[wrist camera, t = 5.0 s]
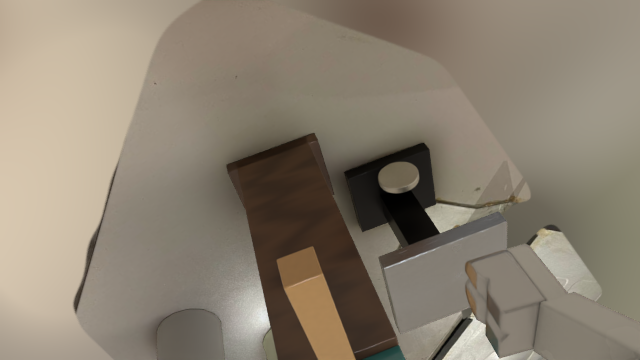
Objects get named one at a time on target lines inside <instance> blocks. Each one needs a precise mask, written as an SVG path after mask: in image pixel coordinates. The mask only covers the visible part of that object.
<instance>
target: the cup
mask: <svg viewBox="0 0 640 360" xmlns="http://www.w3.org/2000/svg"><path fill="white" fill-rule="evenodd" d="M157 360H225V353H224V345H223V336H222V328H221V321H220V320H219V319H218V317H217V316H216V315H215V314H213V313H211V312H208V311H206V310H201V309H188V310H184V311H180V312H176V313H174V314H172V315H170V316H169V317H167V318H166V319H164V320H163V321H162V323H161V324H160V326H159V327H158V329H157Z"/></svg>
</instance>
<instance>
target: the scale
mask: <svg viewBox="0 0 640 360" xmlns="http://www.w3.org/2000/svg"><path fill="white" fill-rule="evenodd" d="M345 176H346V180H347V183H348V187H349V191H350V194H351V198H352V201H353V205H354V209H355V212H356V216H357V219H358V223H359V226H360V228H361V230H362V232H364V231H367V230H369V229H372V228H375V227H377V226H380V225H383V224H385V223H389V225H390V227H391V228H392V230H393V232H394V234H395V235H396V237H397V239H398V241H399V243H400V244H401V246H402V248H401V249H398V250H395V251H393V252H390V253H388V254H385V255H382V256H380V257H379V262H380V266H381V269H382V273H383V277H384V281H385V285H386V289H387V293H388V297H389V301H390V305H391V308H392V312H393V316H394V320H395V324H396V326H397V328H398V330H399V332H400V334H403V333H406V332H408V331H411V330H413V329H416V328H419V327H421V326H424V325H426V324H429V323H431V322H434V321H437V320H439V319H442V318H444V317H447V316H449V315H452V314H455V313H457V312H460V311H462V310H465V309H467V308H470V305H469V303H468V300H467V296H466V292H465V283H466V281H467V280H468V279H469V277H468V276H467V274H466V272H465V264H466V262H467V261H469V260H472V259H475V258H479V257H482V256H485V255H488V254H491V253H494V252H497V251H501V250H506V249H507V221H506V220H505V218H504V217H503V216H502V215H501V214H500V213H499V212H496V213H493V214H490V215H488V216H485V217H482V218H480V219H477V220H474V221H472V222H469V223H467V224H464V225H461V226H459V227H456V228H453V229H451V230H448V231H445V232H443V233H440V232H439V231H438V229H437V228H436V226H435V225H434V223H433V222H432V220H431V219H430V217H429V216H428V215H427V213H426V212H425V210H424V209H425V208H428V207H430V206H433V205H436V200H435V192H434V184H433V176H432V168H431V160H430V152H429V148H428V147H427V146H426V145H425V143H422V144H419V145H416V146H413V147H411V148H408V149H405V150H403V151H400V152H397V153H394V154H392V155H389V156H386V157H384V158H381V159H378V160H376V161H373V162H370V163H367V164H365V165H362V166H359V167H357V168H354V169H351V170H348V171H346V172H345Z"/></svg>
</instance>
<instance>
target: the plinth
mask: <svg viewBox="0 0 640 360" xmlns="http://www.w3.org/2000/svg"><path fill="white" fill-rule="evenodd" d="M227 171H228V174H229V176H230V178H231V180H232V183H233V185H234V187H235V189H236V191H237V193H238V195H239V197H240V199H241V201H242V203H243V205H244V208H245V210H246V214H247V219H248V223H249V228H250V233H251V237H252V242H253V247H254V251H255V256H256V261H257V265H258V270H259V275H260V279H261V284H262V289H263V293H264V298H265V303H266V307H267V312H268V317H269V321H270V326H271V331H272V335H273V340H274V345H275V349H276V354H277V359H278V360H318V359H317V357H316V355H315V353H314V351H313V349H312V346H311V344H310V342H309V340H308V338H307V336H306V334H305V332H304V330H303V328H302V326H301V324H300V321H299V319H298V317H297V315H296V313H295V311H294V309H293V307H292V305H291V303H290V301H289V299H288V296H287V294H286V292H285V290H284V288H283V284H282V280H281V276H280V272H279V269H278V265H277V259H279V258H282V257H284V256H287V255H290V254H292V253H295V252H298V251H300V250H303V249H306V248H308V247H311V246H313V247H314V249H315V252H316V255H317V257H318V260H319V263H320V265H321V268H322V270H323V273H324V276H325V278H326V281H327V284H328V286H329V289H330V291H331V294H332V297H333V299H334V302H335V305H336V307H337V310H338V312H339V315H340V318H341V320H342V323H343V326H344V328H345V331H346V333H347V336H348V339H349V341H350V344H351V347H352V349H353V352H354V354H355V357H356V360H361V359H364V358H367V357H369V356H372V355H374V354H377V353H379V352H382V351H385V350H387V349H390V348H392V347H395V346H397V345H399V344H398V340H397V337H396V334H395V332H394V330H393V328H392V325H391V323H390V321H389V319H388V317H387V314H386V312H385V310H384V308H383V306H382V303H381V301H380V299H379V297H378V295H377V292H376V290H375V288H374V286H373V284H372V281H371V279H370V277H369V275H368V273H367V270H366V268H365V266H364V264H363V262H362V259H361V257H360V255H359V253H358V251H357V248H356V246H355V244H354V242H353V240H352V237H351V235H350V233H349V231H348V229H347V226H346V224H345V222H344V220H343V218H342V215H341V213H340V211H339V209H338V207H337V204H336V202H335V200H334V198H333V196H332V195H334V192H333V188H332V185H331V182H330V179H329V175H328V172H327V169H326V166H325V162H324V159H323V156H322V153H321V149H320V146H319V143H318V140H317V138H316V136H315V134H314V133H313V134H310V135H308V136H305V137H302V138H299V139H297V140H294V141H291V142H288V143H286V144H283V145H280V146H277V147H275V148H272V149H269V150H266V151H264V152H261V153H258V154H255V155H253V156H250V157H247V158H244V159H242V160H239V161H236V162H233V163H231V164H228V165H227Z"/></svg>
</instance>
